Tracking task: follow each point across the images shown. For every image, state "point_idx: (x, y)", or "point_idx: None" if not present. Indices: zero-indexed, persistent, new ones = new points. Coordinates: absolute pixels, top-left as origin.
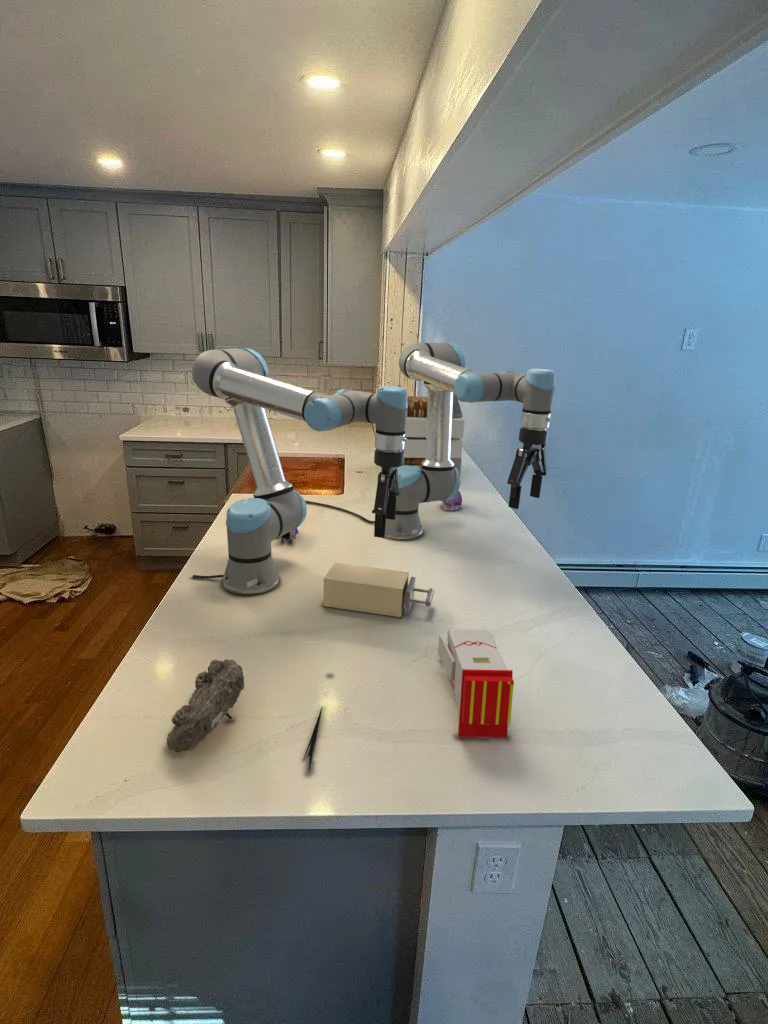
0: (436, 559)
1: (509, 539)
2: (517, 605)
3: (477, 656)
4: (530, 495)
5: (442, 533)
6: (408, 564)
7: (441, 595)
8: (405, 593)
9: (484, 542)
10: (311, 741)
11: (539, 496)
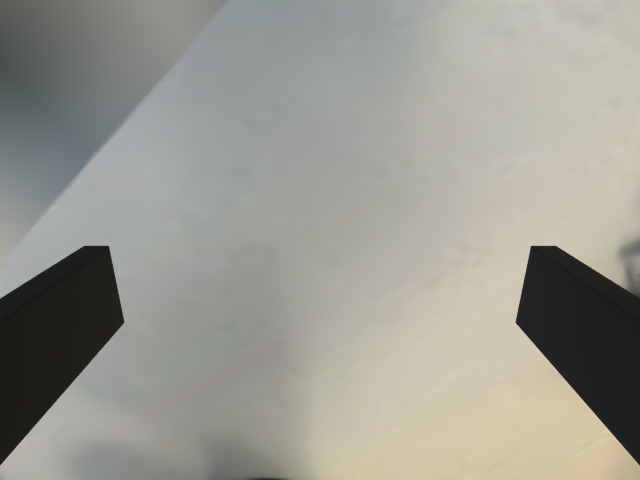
0: (350, 385)
1: None
2: (475, 71)
3: None
4: (119, 321)
5: (185, 456)
6: (427, 414)
7: None
8: None
9: (138, 354)
10: None
11: (80, 250)
